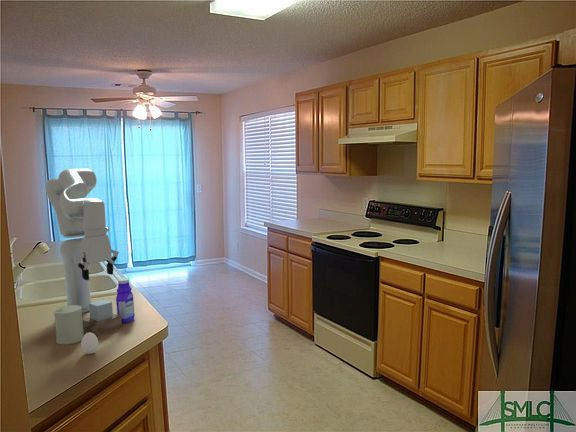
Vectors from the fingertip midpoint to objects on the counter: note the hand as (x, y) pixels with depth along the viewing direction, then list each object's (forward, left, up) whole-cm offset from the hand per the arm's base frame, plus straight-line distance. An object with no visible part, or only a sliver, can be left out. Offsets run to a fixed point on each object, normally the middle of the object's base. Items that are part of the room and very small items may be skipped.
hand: (98, 276), depth 169 cm
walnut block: (0, 0, -21) cm, 21 cm away
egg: (+18, -14, -21) cm, 31 cm away
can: (0, -12, -21) cm, 24 cm away
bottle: (-1, +11, -21) cm, 24 cm away
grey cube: (0, 0, -16) cm, 16 cm away
